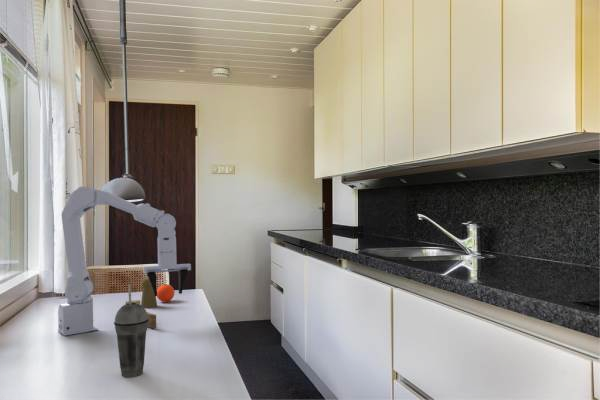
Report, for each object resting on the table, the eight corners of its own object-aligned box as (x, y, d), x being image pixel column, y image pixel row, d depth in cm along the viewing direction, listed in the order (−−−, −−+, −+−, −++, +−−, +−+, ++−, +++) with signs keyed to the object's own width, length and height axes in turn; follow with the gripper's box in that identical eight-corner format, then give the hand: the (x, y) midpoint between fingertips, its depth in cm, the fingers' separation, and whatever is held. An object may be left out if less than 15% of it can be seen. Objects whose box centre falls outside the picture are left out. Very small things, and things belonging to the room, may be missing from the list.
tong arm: (133, 321, 154) (133, 309, 154) (136, 320, 155) (136, 308, 155) (153, 328, 144) (153, 315, 144) (156, 328, 144) (156, 314, 144)
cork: (159, 305, 182) (159, 276, 182) (153, 308, 176) (152, 278, 176) (144, 305, 183) (144, 276, 183) (137, 308, 177) (137, 278, 177)
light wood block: (126, 320, 156) (125, 301, 156) (140, 318, 157) (140, 299, 158) (125, 321, 154) (125, 302, 154) (140, 320, 156) (140, 300, 156)
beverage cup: (153, 367, 108) (152, 280, 109) (144, 379, 101) (142, 285, 101) (121, 368, 108) (120, 281, 108) (109, 380, 101) (108, 286, 101)
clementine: (156, 300, 192) (156, 282, 192) (174, 299, 194) (173, 281, 194) (156, 304, 184) (156, 285, 184) (175, 302, 186) (174, 284, 186)
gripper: (144, 254, 144) (145, 298, 144) (192, 251, 150) (193, 294, 150) (142, 252, 150) (143, 295, 150) (188, 249, 156) (189, 290, 156)
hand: (168, 294), depth 150 cm, fingers open, 7 cm apart
